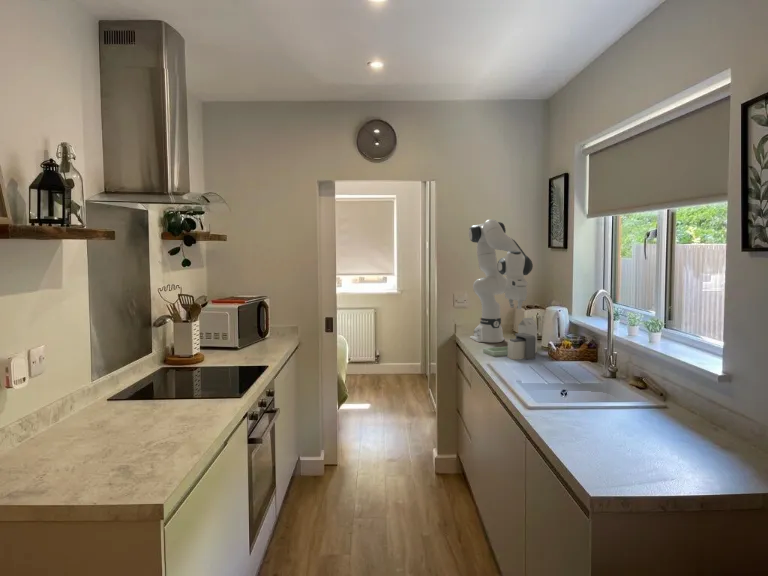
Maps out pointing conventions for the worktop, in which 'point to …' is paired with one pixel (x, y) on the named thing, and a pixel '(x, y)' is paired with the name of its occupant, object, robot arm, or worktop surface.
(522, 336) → the open-top grey box
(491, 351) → the tray
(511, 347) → the cream box grey panel
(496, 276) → the robot arm
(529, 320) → the milk carton
